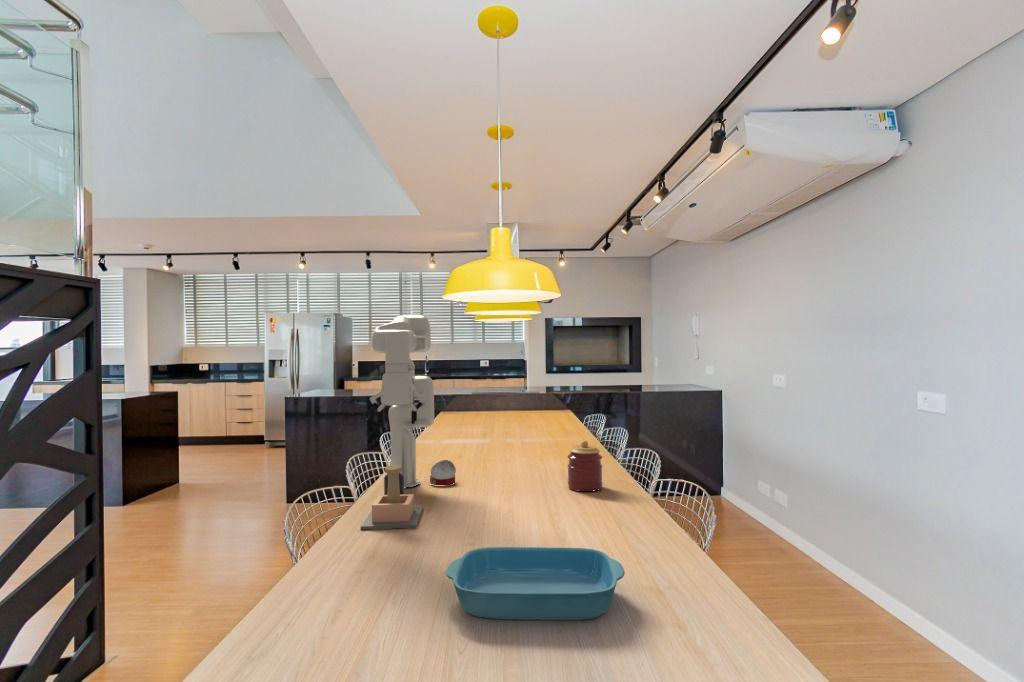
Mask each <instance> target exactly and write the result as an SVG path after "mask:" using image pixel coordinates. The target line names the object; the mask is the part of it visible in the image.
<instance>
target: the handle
mask: <svg viewBox="0 0 1024 682" xmlns="http://www.w3.org/2000/svg"><path fill="white" fill-rule="evenodd" d="M401 470H402V466H401V465H391V464H390V465H386V466H385V467H384V473H385V474H386V475H387V474H388V491H387V504H389V503H400V488H399V473H400V472H401Z"/></svg>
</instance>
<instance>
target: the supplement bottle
mask: <svg viewBox="0 0 1024 682" xmlns="http://www.w3.org/2000/svg"><path fill="white" fill-rule="evenodd" d="M399 488H400V495H403V494H405V488H404V476H403V474H401V473H399ZM387 491H388V474H387V473H386V474H385V475H384V477H383V495H387Z"/></svg>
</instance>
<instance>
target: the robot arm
mask: <svg viewBox="0 0 1024 682" xmlns="http://www.w3.org/2000/svg"><path fill="white" fill-rule="evenodd" d="M431 339H432V337H431V324H430V321H429V319H428V318H427V317H426V316H425V315H413V314H412V315H411V314H410V315H406V314H405V315H398V316H395V317H394V318H393V319H392V321H391V322H389V323H385V324H382V325H378V326H377V327H375V328H374V331H373V334H372V336H371V346H372V349H373V350H374V352H375V353H380V354H384V356H385V357H384V361H385V362H384V363H385V364H384V367H385V368H384V369H385V370H384V371H385V373H383V375H382V378H381V379H382V380H381V389H380V392H378V393H376V394H374V395H373V396H371V397H369V401H370V402H371V404H372V406H373V407H374V409H376V410H377V412H378V422H380V425H384V424H385V422H386V421H385V419H386V418H385V417H386V416H385V415H386V414H385V412H386V411H385V410H384V409H385V407H386V406H388V407H389V406H390V407H389V409H388V421H389V428H390V465H401V466H402V470H401V472H400V473H401V474H403V476H404V487H412V488H414V487H413V486H416V485H418V484H419V485H420V484H421V480H420V479H419V478H417V440H416V436H415V434H414V433H413V432H412V431H411V430H410V429H413V428H428V427H431V426H433V424H434V421H435V387H434V382H433V379H432V378H431V377H430V376H429V375H416V374H415V367H416V366H415V363H414V361H413V360H412V359H411V357H410V356H411V355H410V354H411V353H425V352H428V351H429V350H430V348H431V344H432V343H431V342H432V341H431ZM378 398H380V403H381V404H379V403H378V402H377V399H378ZM415 401H418V402H415ZM419 485H418V486H419ZM416 487H417V486H416Z"/></svg>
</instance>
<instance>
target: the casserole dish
mask: <svg viewBox="0 0 1024 682" xmlns="http://www.w3.org/2000/svg"><path fill="white" fill-rule="evenodd" d="M625 574H626V573H625V568H624V566H623V565H622V564H621V563H620V562H619V561H618V560H616V559H614V558H611V557H610V556H609V555H608V553H605V552H603V551H601V550H597V549H594V548H585V547H584V548H582V547H542V546H541V547H539V546H537V547H536V546H535V547H533V546H531V547H530V546H524V547H523V546H521V547H520V546H492V547H491V546H489V547H480V548H475V549H471V550H469V551H467V552H466V553H464V554H463V555H462V556H461V557H459V558H457V559H455V560H453V561H451V563H449V564H448V566H447V569H446V571H445V575H446V577H447V578H448V579H450V580H452V582H453V583H452V584H453V586H454V589H455V592H456V596H457V598H458V601H459V603H460V605H461V607H462V609H464V611H465V612H467V613H468V614H470V615H472V616H475V617H478V618H482V617H483V618H484V619H495V620H496V619H497V620H499V619H500V620H523V621H524V620H525V621H526V620H529V621H530V620H531V621H533V619H534V620H536V619H541V620H542V621H584V620H591V619H596V618H598V617H600V616H601V615H603V614H605V613H606V612H607V610H608V609H609V607H610V605H611V603H612V602H613V597H614V593H615V590H616V586H617V584H618V583H617V582H618V581H620V580H621V579H623V578H624V576H625ZM483 618H482V619H483ZM541 620H540V621H541Z"/></svg>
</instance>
